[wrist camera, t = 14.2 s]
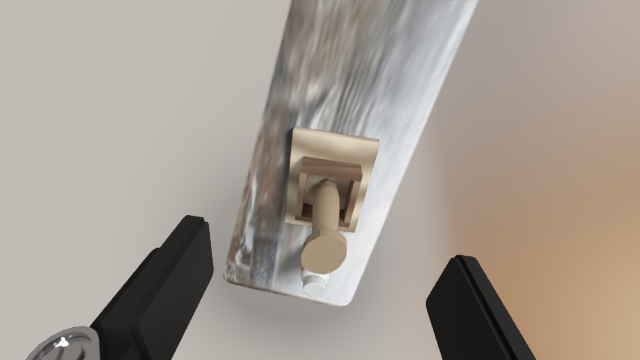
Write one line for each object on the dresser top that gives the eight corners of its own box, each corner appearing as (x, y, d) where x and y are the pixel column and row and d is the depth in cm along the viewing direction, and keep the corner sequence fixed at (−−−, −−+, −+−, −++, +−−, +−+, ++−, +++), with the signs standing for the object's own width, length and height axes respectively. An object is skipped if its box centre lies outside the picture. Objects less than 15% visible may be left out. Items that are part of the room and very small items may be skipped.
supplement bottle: (305, 257, 54) (300, 299, 45) (303, 239, 51) (296, 280, 43) (331, 257, 53) (330, 300, 45) (330, 238, 50) (328, 280, 42)
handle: (306, 195, 44) (294, 266, 31) (322, 165, 40) (315, 230, 28) (332, 205, 44) (330, 278, 32) (349, 176, 41) (355, 245, 28)
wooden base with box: (294, 126, 39) (289, 138, 35) (378, 139, 39) (383, 153, 35) (286, 217, 48) (281, 235, 44) (354, 227, 49) (355, 246, 44)
